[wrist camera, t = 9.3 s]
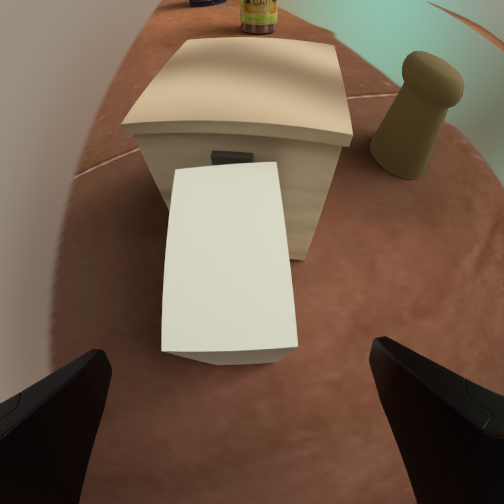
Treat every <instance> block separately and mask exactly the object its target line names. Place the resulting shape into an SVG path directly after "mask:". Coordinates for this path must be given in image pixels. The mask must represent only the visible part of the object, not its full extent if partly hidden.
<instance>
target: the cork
mask: <svg viewBox="0 0 504 504" xmlns="http://www.w3.org/2000/svg"><path fill="white" fill-rule="evenodd" d="M402 76H403V80H404V84H403V86H402V88H401V89H400V91H399V93H398V95H397V96H396V98H395V100H394V102H393V104H392V105H391V107H390V109H389V111H388V112H387V114H386V116H385V118H384V119H383V121H382V123H381V124H380V126H379V128H378V130H377V131H376V133H375V135H374V136H373V138H372V140H371V141H370V150H371V153H372V155H373V157H374V158H375V160H376V161H377V163H378V164H380V165H381V166H382V167H383V168H384V169H385V170H387V171H388V172H390V173H391V174H393V175H395V176H397V177H400V178H402V179H409V180H413V179H418V178H420V177H421V176H422V175H423V174H424V171H425V169H426V167H427V164H428V162H429V159H430V157H431V154H432V152H433V149H434V147H435V144H436V142H437V139H438V136H439V134H440V131H441V128H442V125H443V122H444V119H445V116H446V113H447V110H448V108H450V107H453V106H455V105H456V104H457V103H458V102H459V101H460V100H461V98H462V96H463V91H464V82H463V79H462V77H461V75H460V74H459V73H458V71H457V70H456V69H455V68H453V67H452V66H451V65H450V64H448V63H447V62H446V61H444V60H442V59H441V58H439V57H437V56H435V55H432V54H430V53H427V52H423V51H414V52H412V53H411V54H409V55H408V56H407V57H406V59H405V60H404V63H403V66H402Z"/></svg>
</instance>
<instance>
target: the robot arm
mask: <svg viewBox="0 0 504 504" xmlns="http://www.w3.org/2000/svg"><path fill="white" fill-rule="evenodd" d="M369 363H370V367H371V370H372V373H373V377H374V380H375V384H376V388H377V391H378V395H379V398H380V401H381V404H382V406H383V409H384V411H385V414H386V416H387V419H388V421H389V424H390V427H391V429H392V432H393V434H394V437H395V440H396V442H397V445H398V448H399V450H400V453H401V456H402V459H403V462H404V464H405V467H406V470H407V473H408V476H409V479H410V482H411V485H412V488H413V491H414V494H415V497H416V501H417V504H504V396H503V395H500V394H497V393H495V392H493V391H490V390H488V389H486V388H484V387H481V386H479V385H477V384H475V383H473V382H471V381H470V380H468V379H464V377H462V376H460V375H458V374H456V373H454V372H452V371H450V370H448V369H447V368H445V367H443V366H441V365H439V364H437V363H435V362H433V361H431V360H429V359H428V358H426V357H424V356H422V355H420V354H418V353H416V352H414V351H413V350H411V349H409V348H407V347H405V346H403V345H401V344H399V343H398V342H396V341H394V340H392V339H390V338H388V337H386V336H383V337H378V338H375V339H374V340H373V343H372V348H371V352H370V356H369ZM111 376H112V368H111V365H110V363H109V360H108V358H107V356H106V353H105V352H104V351H103V350H100V349H92V350H90V351H89V352H87V353H85V354H84V355H82V356H80V357H79V358H77V359H75V360H74V361H72V362H70V363H69V364H67V365H65V366H64V367H62V368H60V369H59V370H57V371H55V372H54V373H52V374H50V375H48V376H47V377H45V378H44V379H42V380H40V381H38V382H37V383H35V384H34V385H32V386H30V387H28V388H27V389H25V390H23V391H22V393H21V392H20V393H18V394H17V395H15V396H13V397H11V398H10V399H8V400H6V401H4V402H2V403H0V504H79V501H80V496H81V491H82V487H83V483H84V478H85V474H86V470H87V466H88V462H89V459H90V455H91V451H92V448H93V444H94V441H95V437H96V434H97V430H98V427H99V424H100V421H101V418H102V414H103V411H104V407H105V403H106V398H107V394H108V389H109V385H110V380H111Z"/></svg>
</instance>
